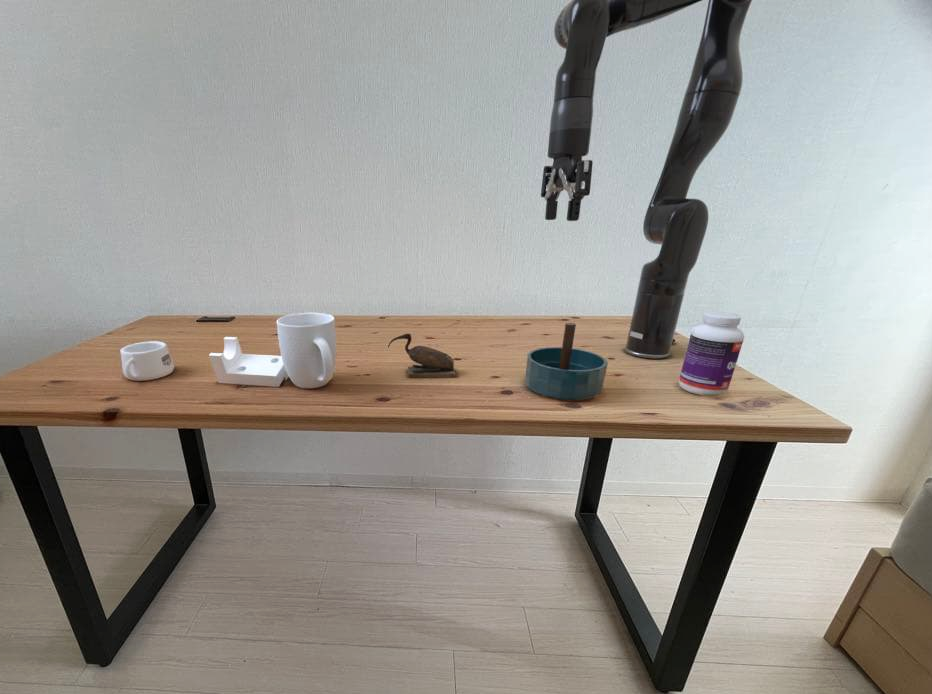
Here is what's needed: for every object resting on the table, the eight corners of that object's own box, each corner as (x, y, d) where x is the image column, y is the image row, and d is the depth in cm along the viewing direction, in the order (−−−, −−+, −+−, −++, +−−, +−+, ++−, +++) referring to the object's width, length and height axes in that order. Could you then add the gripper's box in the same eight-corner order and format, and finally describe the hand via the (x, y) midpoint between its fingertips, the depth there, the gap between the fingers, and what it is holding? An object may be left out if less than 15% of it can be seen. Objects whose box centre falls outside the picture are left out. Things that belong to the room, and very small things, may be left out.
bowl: (535, 370, 97) (539, 343, 95) (607, 382, 90) (612, 353, 88) (514, 392, 86) (517, 362, 84) (594, 408, 79) (600, 376, 77)
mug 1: (141, 366, 102) (135, 340, 100) (183, 366, 102) (177, 340, 99) (107, 386, 91) (98, 357, 89) (153, 386, 91) (146, 357, 88)
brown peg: (551, 378, 91) (560, 319, 86) (577, 383, 89) (587, 322, 84) (545, 386, 87) (553, 325, 82) (572, 391, 85) (582, 328, 80)
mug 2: (358, 391, 87) (354, 324, 82) (304, 404, 82) (297, 334, 76) (324, 369, 99) (320, 309, 93) (275, 380, 93) (267, 317, 88)
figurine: (388, 377, 94) (387, 337, 90) (388, 370, 98) (387, 331, 94) (455, 377, 94) (457, 336, 90) (453, 369, 98) (455, 330, 94)
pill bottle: (727, 401, 81) (752, 322, 75) (675, 392, 85) (696, 316, 79) (725, 387, 88) (749, 312, 82) (678, 379, 92) (696, 308, 86)
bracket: (220, 386, 93) (208, 355, 88) (235, 367, 98) (225, 336, 94) (279, 390, 91) (271, 358, 86) (292, 370, 96) (284, 339, 91)
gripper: (611, 122, 81) (598, 220, 88) (568, 133, 94) (559, 218, 100) (573, 123, 80) (562, 222, 86) (534, 134, 93) (527, 220, 99)
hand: (560, 220), depth 93 cm, fingers open, 8 cm apart
